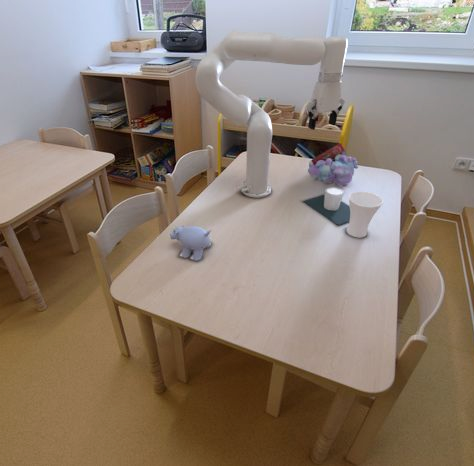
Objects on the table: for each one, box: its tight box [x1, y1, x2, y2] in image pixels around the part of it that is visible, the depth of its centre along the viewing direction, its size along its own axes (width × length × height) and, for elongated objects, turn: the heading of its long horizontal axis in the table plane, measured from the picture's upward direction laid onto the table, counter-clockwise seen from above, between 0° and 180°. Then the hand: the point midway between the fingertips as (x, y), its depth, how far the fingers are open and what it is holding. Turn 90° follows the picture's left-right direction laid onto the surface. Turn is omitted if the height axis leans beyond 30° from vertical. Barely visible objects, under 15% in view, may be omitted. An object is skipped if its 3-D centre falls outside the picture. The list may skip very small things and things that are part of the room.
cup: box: [346, 191, 384, 238], centre depth 112 cm, size 10×10×14 cm
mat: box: [303, 194, 350, 226], centre depth 129 cm, size 13×20×1 cm, turn 24°
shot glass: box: [324, 186, 345, 211], centre depth 128 cm, size 7×7×7 cm
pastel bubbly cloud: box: [307, 142, 359, 187], centre depth 146 cm, size 20×22×18 cm
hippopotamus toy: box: [169, 224, 213, 262], centre depth 110 cm, size 11×15×10 cm
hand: (321, 126), depth 125 cm, fingers open, 9 cm apart
